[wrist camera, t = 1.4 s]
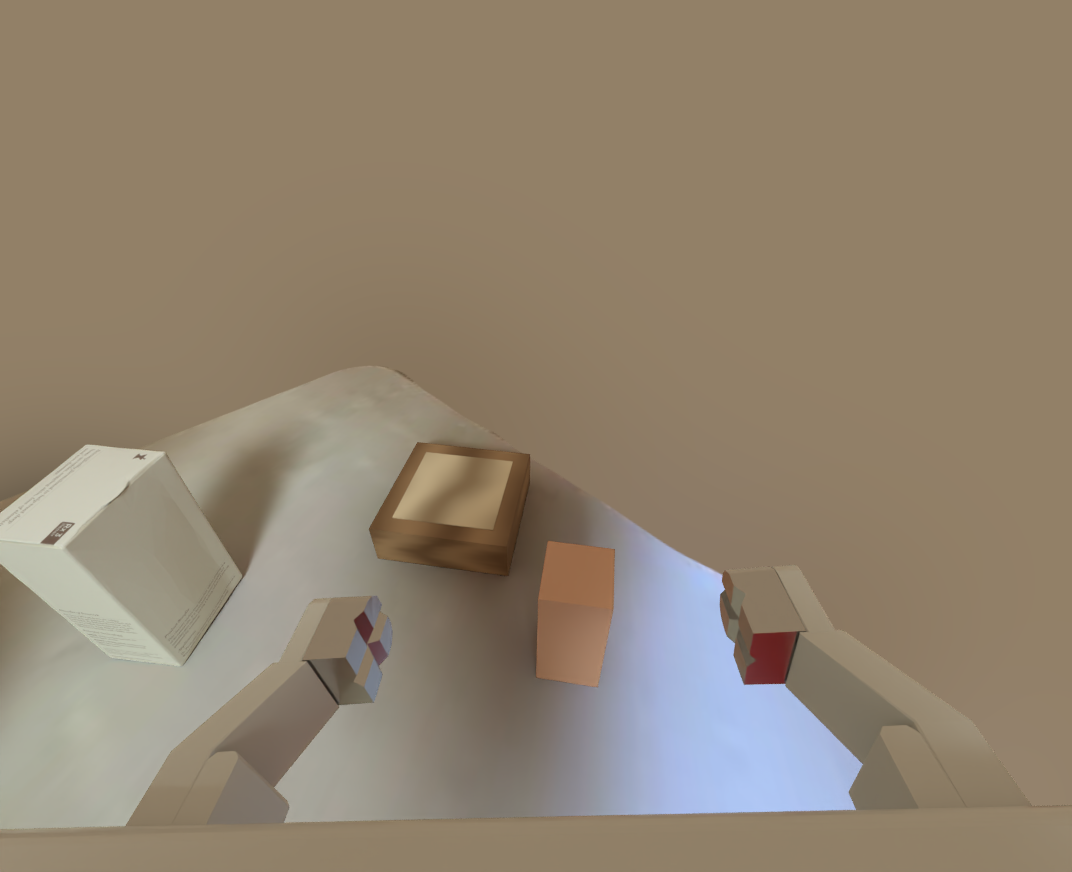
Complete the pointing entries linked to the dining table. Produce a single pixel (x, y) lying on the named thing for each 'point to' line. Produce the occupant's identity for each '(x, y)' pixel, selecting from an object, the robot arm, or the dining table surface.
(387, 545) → the plinth
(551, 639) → the terracotta block
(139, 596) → the skincare box
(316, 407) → the dining table surface
